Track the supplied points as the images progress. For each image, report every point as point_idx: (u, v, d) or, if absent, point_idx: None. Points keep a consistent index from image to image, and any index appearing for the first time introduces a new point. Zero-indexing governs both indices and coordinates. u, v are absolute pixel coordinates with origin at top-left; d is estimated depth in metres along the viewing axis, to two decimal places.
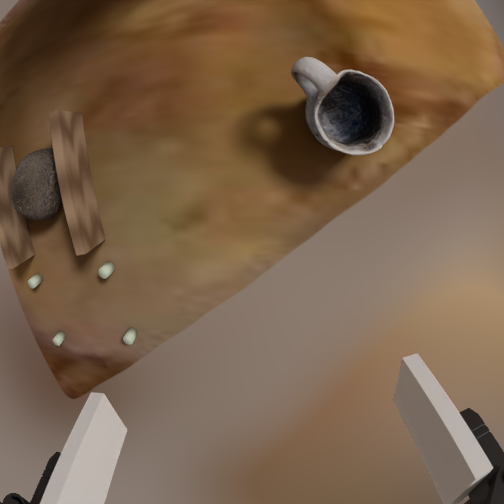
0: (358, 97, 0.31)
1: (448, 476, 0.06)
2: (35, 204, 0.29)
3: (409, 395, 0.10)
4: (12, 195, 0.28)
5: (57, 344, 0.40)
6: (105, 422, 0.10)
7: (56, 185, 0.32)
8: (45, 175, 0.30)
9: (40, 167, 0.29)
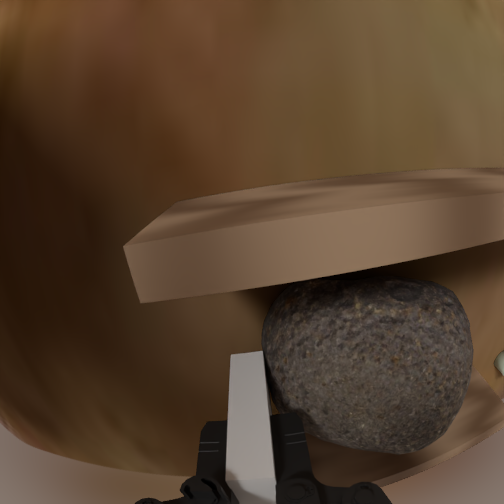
0: None
1: None
2: (459, 365, 0.08)
3: None
4: (410, 450, 0.08)
5: None
6: None
7: (398, 293, 0.11)
8: (373, 332, 0.10)
9: (341, 356, 0.10)
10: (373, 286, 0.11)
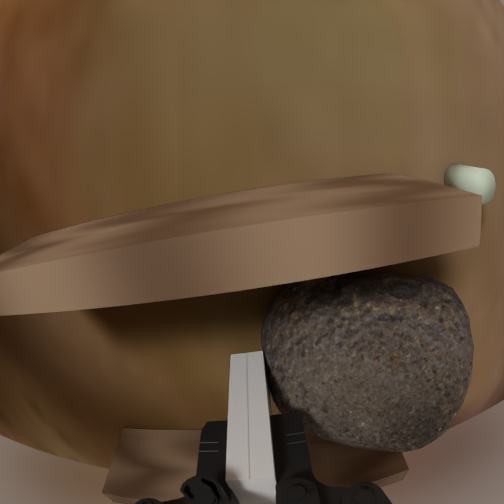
0: None
1: None
2: (459, 362, 0.08)
3: None
4: (411, 449, 0.08)
5: None
6: None
7: (396, 291, 0.11)
8: (372, 330, 0.10)
9: (340, 354, 0.10)
10: (371, 284, 0.11)
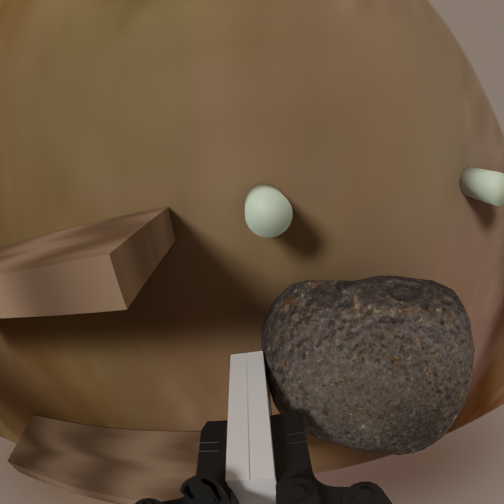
0: None
1: None
2: (460, 364, 0.08)
3: None
4: (411, 451, 0.08)
5: None
6: None
7: (397, 293, 0.11)
8: (373, 333, 0.10)
9: (340, 357, 0.10)
10: (372, 286, 0.11)
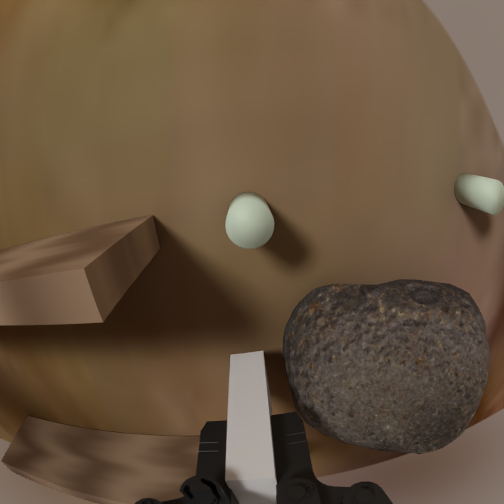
0: None
1: None
2: (478, 365, 0.08)
3: None
4: (431, 449, 0.08)
5: None
6: None
7: (419, 296, 0.11)
8: (398, 335, 0.10)
9: (367, 359, 0.10)
10: (395, 290, 0.11)
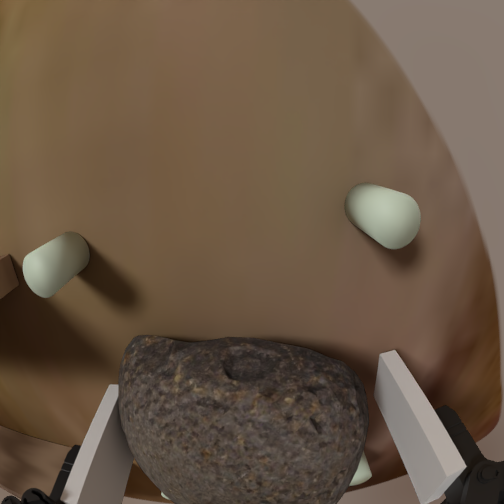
0: None
1: (422, 472, 0.06)
2: (310, 475, 0.06)
3: (386, 391, 0.10)
4: None
5: (366, 477, 0.12)
6: None
7: (239, 367, 0.09)
8: (186, 415, 0.07)
9: (152, 431, 0.07)
10: (207, 354, 0.09)
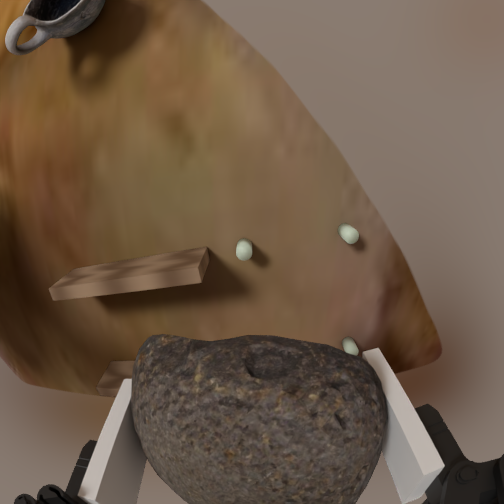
0: (63, 1, 0.19)
1: (402, 470, 0.07)
2: (335, 471, 0.06)
3: None
4: None
5: (356, 351, 0.34)
6: None
7: (260, 365, 0.08)
8: (208, 415, 0.07)
9: (171, 433, 0.07)
10: (228, 352, 0.09)
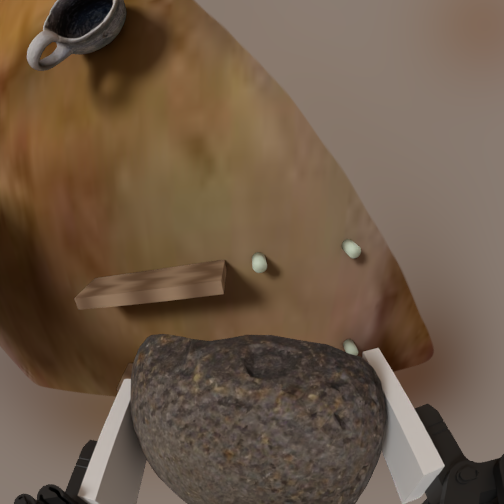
0: (81, 15, 0.22)
1: (402, 470, 0.07)
2: (335, 472, 0.06)
3: None
4: None
5: (356, 352, 0.37)
6: None
7: (260, 364, 0.08)
8: (208, 415, 0.07)
9: (170, 433, 0.07)
10: (227, 352, 0.09)
